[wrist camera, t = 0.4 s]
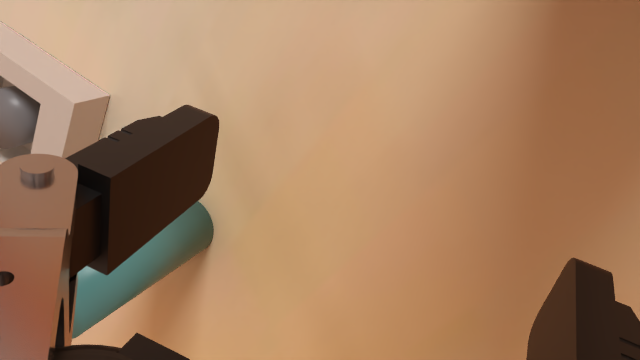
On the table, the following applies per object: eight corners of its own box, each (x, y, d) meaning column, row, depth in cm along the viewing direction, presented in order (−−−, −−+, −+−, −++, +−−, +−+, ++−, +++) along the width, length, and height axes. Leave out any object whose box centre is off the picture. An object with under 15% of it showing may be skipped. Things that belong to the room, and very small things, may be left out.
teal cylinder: (173, 184, 38) (32, 251, 28) (221, 217, 37) (92, 298, 28) (157, 230, 40) (20, 307, 30) (202, 262, 39) (76, 353, 29)
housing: (-9, 15, 40) (-53, 18, 37) (110, 95, 38) (72, 104, 35) (-38, 213, 48) (-76, 227, 46) (58, 288, 46) (24, 308, 43)
